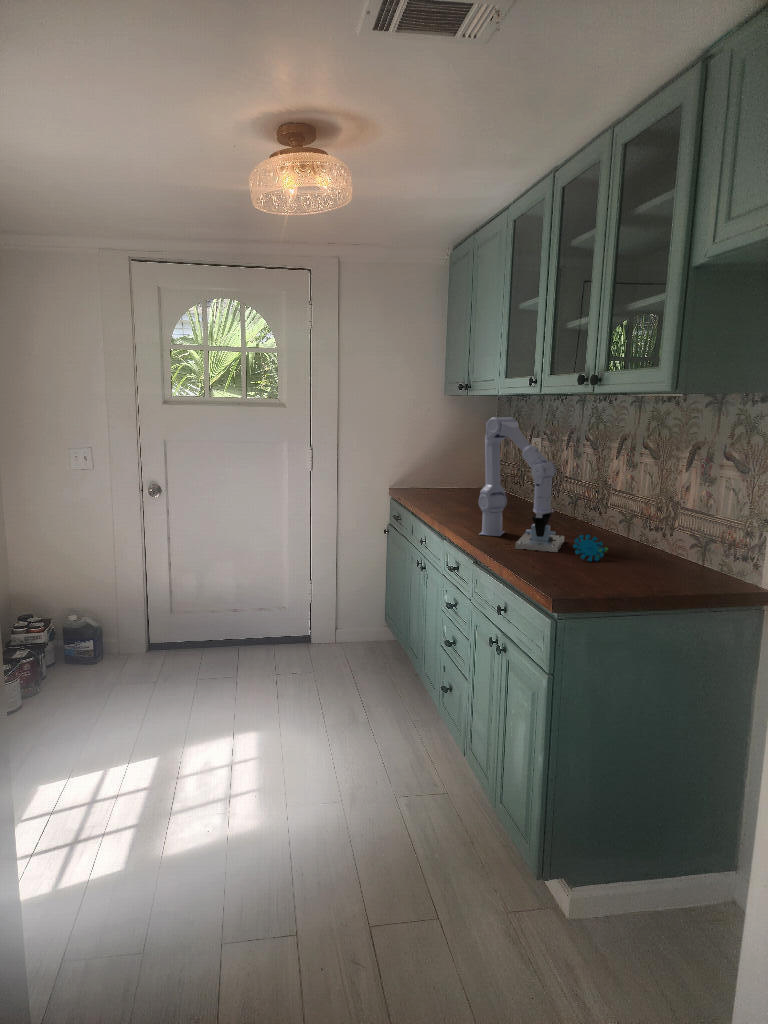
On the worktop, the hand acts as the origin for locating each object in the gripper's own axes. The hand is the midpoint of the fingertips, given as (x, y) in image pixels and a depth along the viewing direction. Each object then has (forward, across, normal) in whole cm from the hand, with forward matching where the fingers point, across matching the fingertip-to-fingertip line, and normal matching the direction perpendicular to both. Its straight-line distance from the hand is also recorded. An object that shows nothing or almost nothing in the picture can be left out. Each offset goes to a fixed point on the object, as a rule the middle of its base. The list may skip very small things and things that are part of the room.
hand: (540, 535), depth 237 cm
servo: (+2, 0, 0) cm, 2 cm away
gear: (+4, -16, -18) cm, 24 cm away
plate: (+3, 0, 0) cm, 3 cm away
